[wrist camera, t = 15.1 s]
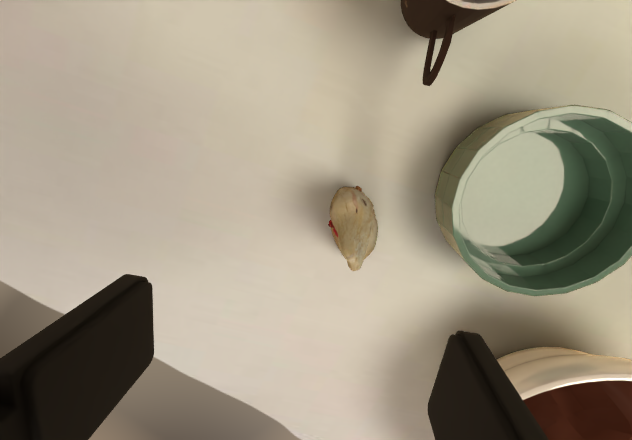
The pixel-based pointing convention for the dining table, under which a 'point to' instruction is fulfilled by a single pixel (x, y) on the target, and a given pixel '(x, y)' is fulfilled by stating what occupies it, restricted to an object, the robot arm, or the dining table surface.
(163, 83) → the dining table surface
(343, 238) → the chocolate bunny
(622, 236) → the bowl
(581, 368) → the cream round dish
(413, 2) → the coffee mug
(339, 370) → the dining table surface
